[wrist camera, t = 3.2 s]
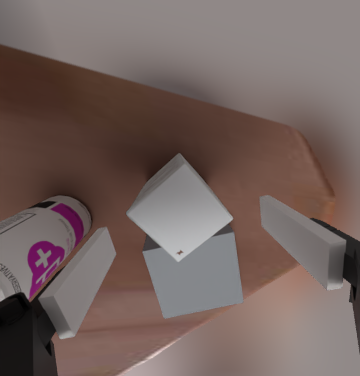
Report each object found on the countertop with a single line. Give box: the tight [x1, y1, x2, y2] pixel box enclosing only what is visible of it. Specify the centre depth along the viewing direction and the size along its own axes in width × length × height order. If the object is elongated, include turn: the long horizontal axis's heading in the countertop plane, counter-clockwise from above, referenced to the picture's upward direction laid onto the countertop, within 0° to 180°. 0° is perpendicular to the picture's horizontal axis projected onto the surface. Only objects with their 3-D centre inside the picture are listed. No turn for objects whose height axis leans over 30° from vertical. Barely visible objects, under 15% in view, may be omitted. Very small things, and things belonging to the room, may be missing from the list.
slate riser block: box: [142, 224, 243, 319], centre depth 30 cm, size 14×14×5 cm
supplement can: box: [0, 195, 91, 301], centre depth 21 cm, size 8×8×15 cm
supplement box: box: [126, 153, 233, 262], centre depth 22 cm, size 7×7×13 cm
